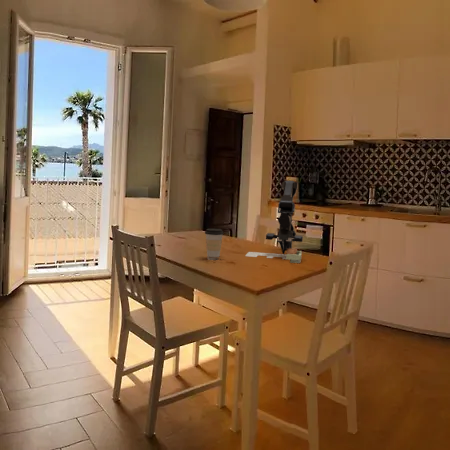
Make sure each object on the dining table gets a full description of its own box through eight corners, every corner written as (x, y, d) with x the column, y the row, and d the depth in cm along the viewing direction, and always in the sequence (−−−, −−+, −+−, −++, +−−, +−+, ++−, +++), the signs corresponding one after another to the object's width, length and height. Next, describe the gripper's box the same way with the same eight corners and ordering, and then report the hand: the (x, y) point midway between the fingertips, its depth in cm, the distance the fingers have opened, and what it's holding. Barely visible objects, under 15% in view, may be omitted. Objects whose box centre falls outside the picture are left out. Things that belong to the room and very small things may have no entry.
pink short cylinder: (286, 255, 243) (287, 247, 243) (296, 256, 242) (297, 248, 242) (286, 257, 238) (286, 249, 238) (296, 257, 237) (296, 250, 237)
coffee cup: (206, 261, 227) (207, 230, 225) (202, 257, 236) (203, 228, 234) (224, 260, 230) (226, 230, 228) (220, 257, 239) (221, 228, 237)
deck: (248, 254, 249) (248, 247, 249) (301, 258, 244) (301, 251, 243) (244, 258, 236) (245, 251, 236) (300, 263, 231) (300, 255, 231)
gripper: (265, 224, 233) (263, 254, 235) (302, 227, 230) (300, 258, 231) (267, 222, 244) (266, 251, 246) (303, 224, 240) (301, 254, 242)
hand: (283, 253), depth 241 cm, fingers closed
